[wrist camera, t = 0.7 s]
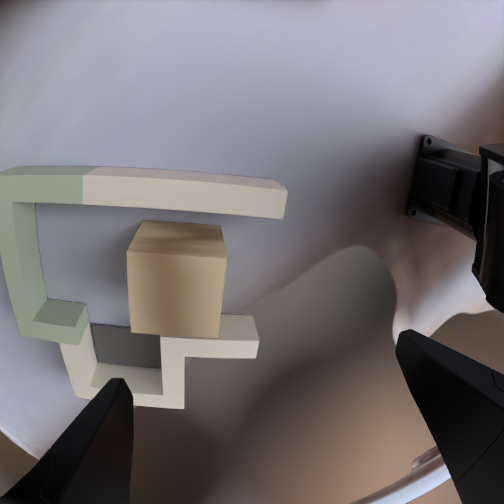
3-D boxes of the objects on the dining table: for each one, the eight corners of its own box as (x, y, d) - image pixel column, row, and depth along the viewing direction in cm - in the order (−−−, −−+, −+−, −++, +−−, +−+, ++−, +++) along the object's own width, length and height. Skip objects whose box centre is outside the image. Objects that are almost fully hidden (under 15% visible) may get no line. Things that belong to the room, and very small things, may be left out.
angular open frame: (275, 180, 19) (288, 191, 16) (240, 383, 26) (244, 409, 23) (16, 166, 16) (-8, 175, 13) (50, 366, 22) (40, 389, 20)
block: (221, 225, 20) (227, 258, 15) (213, 292, 22) (218, 338, 17) (143, 219, 19) (126, 251, 14) (143, 288, 21) (131, 332, 16)
